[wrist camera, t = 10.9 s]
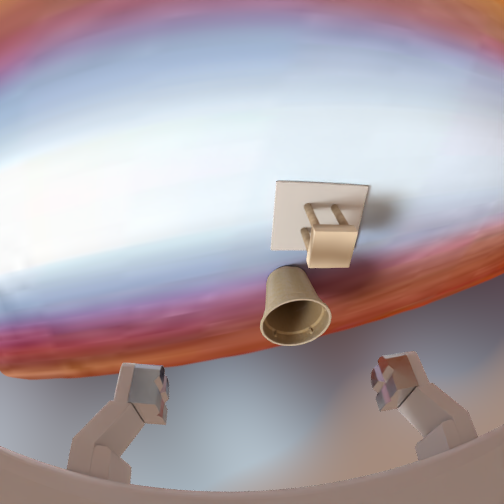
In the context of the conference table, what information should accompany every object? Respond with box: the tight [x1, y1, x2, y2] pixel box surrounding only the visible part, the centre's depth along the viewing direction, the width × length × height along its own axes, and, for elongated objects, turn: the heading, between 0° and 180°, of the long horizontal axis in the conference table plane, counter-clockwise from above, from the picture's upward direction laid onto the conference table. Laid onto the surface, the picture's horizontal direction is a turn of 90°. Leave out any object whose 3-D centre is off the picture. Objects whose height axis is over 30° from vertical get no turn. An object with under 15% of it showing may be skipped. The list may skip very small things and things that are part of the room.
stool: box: [300, 203, 358, 268], centre depth 37 cm, size 5×5×7 cm
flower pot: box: [260, 266, 331, 346], centre depth 43 cm, size 9×9×9 cm
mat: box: [271, 181, 368, 250], centre depth 40 cm, size 10×12×1 cm
